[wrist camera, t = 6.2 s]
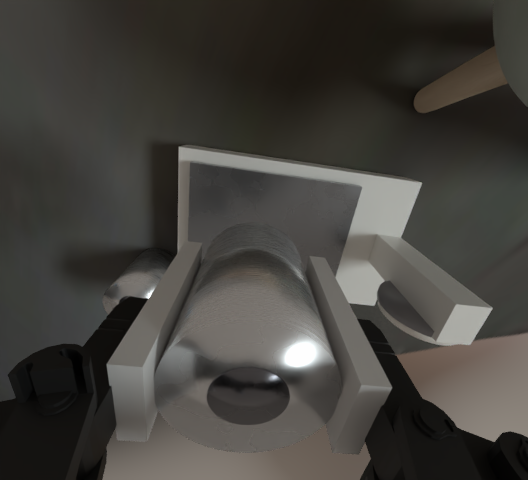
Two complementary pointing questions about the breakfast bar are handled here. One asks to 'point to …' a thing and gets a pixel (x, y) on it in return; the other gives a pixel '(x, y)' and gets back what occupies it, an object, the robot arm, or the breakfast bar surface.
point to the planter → (487, 63)
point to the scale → (370, 248)
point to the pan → (272, 208)
